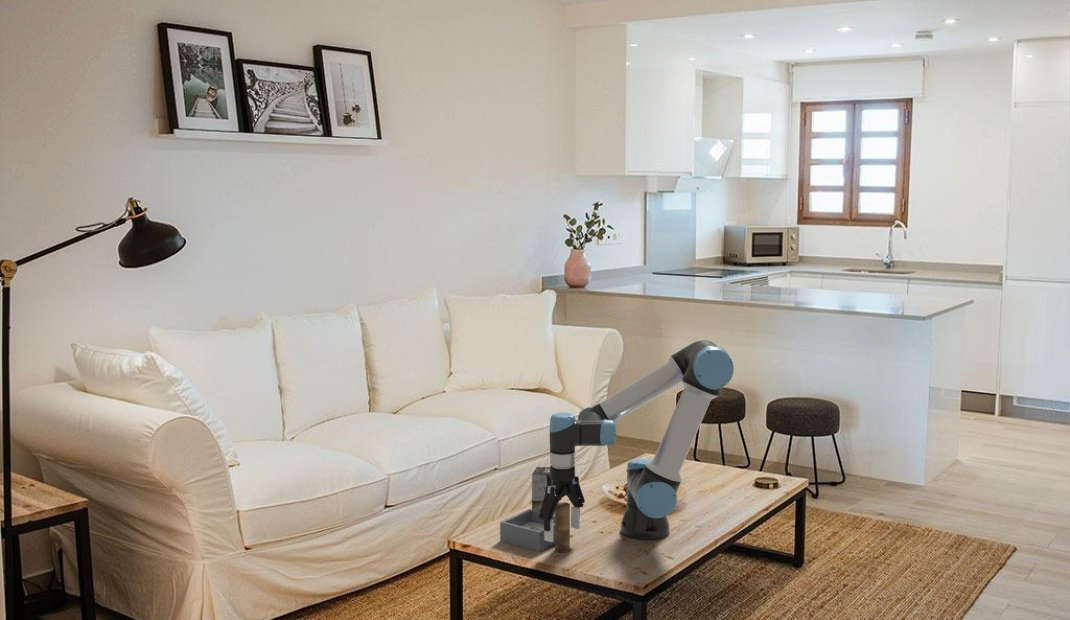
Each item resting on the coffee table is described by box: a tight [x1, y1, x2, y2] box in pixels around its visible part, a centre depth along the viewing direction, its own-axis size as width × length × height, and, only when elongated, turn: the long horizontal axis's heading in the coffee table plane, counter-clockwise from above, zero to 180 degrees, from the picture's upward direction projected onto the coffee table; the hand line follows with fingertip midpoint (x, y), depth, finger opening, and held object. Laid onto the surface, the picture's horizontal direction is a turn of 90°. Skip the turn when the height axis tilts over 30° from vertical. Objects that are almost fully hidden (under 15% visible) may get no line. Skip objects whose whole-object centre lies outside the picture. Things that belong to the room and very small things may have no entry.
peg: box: [554, 501, 571, 553], centre depth 301 cm, size 4×4×14 cm
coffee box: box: [531, 466, 556, 515], centre depth 329 cm, size 9×6×16 cm
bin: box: [499, 508, 555, 552], centre depth 311 cm, size 15×15×6 cm
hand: (562, 534), depth 302 cm, fingers open, 13 cm apart
